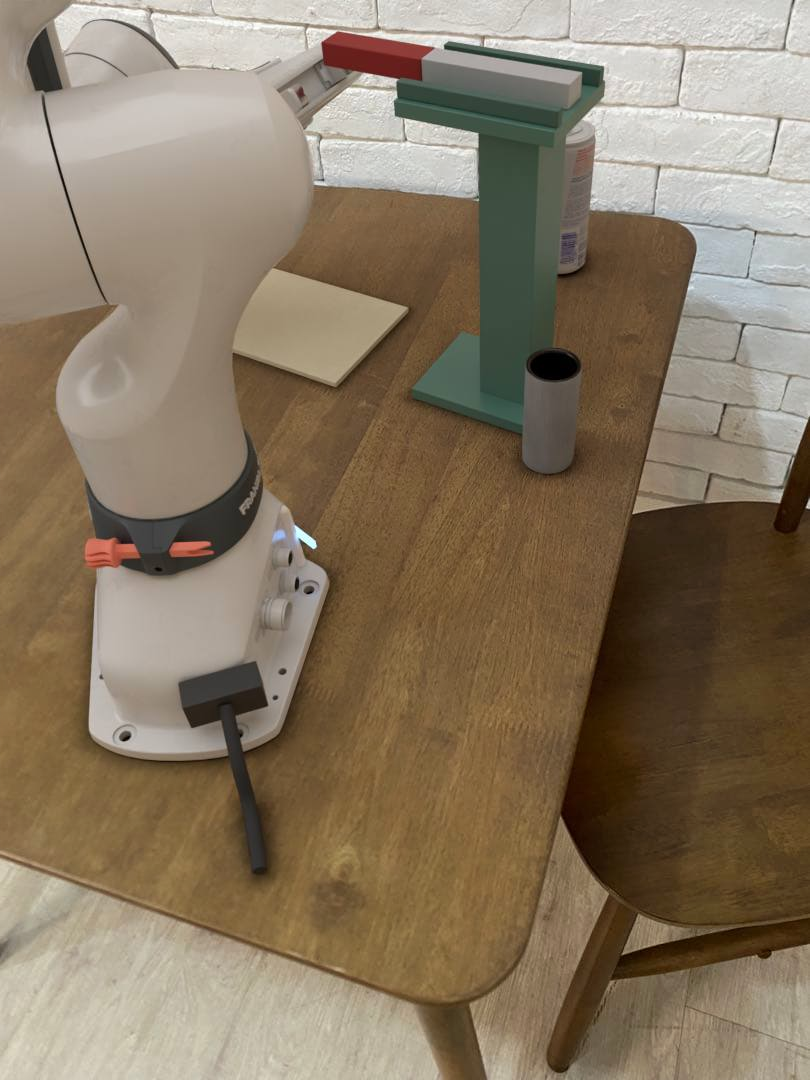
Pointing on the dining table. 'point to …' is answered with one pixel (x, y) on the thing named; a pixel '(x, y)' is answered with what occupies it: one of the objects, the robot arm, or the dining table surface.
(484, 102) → the stand
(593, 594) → the dining table surface
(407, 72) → the bar magnet
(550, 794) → the dining table surface
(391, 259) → the dining table surface
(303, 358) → the mat
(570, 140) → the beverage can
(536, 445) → the gray cylindrical cup
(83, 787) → the dining table surface
